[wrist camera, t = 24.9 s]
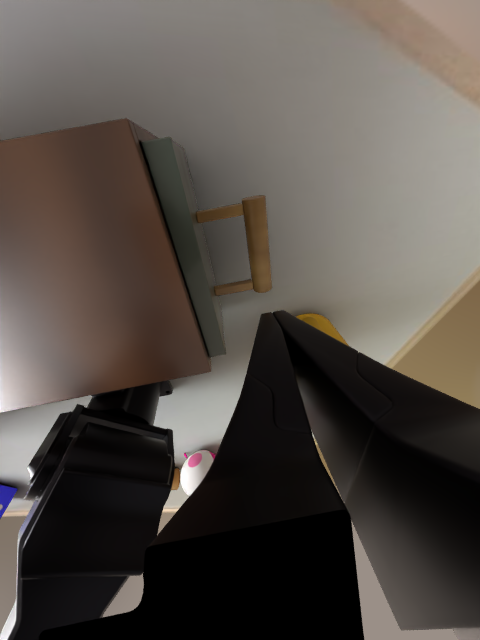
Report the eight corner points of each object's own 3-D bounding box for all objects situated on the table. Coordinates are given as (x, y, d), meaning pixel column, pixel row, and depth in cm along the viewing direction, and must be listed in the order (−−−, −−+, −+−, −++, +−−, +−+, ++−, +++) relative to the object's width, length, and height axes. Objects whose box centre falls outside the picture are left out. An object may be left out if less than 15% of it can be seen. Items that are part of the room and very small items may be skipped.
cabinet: (164, 140, 14) (127, 117, 8) (210, 312, 22) (211, 372, 15) (-92, 187, 14) (-344, 202, 8) (46, 343, 21) (-22, 417, 15)
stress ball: (210, 443, 42) (233, 476, 38) (171, 474, 37) (192, 514, 33) (213, 422, 37) (239, 456, 34) (169, 453, 32) (193, 497, 29)
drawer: (250, 135, 14) (274, 116, 9) (266, 300, 21) (284, 343, 16) (-62, 193, 14) (-220, 207, 9) (59, 340, 20) (10, 396, 15)
